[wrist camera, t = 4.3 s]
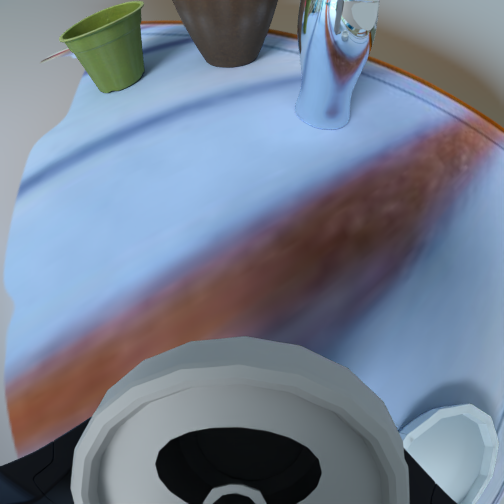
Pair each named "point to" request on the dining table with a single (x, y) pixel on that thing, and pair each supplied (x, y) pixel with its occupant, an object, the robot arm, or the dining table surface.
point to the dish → (454, 449)
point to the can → (240, 432)
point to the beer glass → (332, 57)
